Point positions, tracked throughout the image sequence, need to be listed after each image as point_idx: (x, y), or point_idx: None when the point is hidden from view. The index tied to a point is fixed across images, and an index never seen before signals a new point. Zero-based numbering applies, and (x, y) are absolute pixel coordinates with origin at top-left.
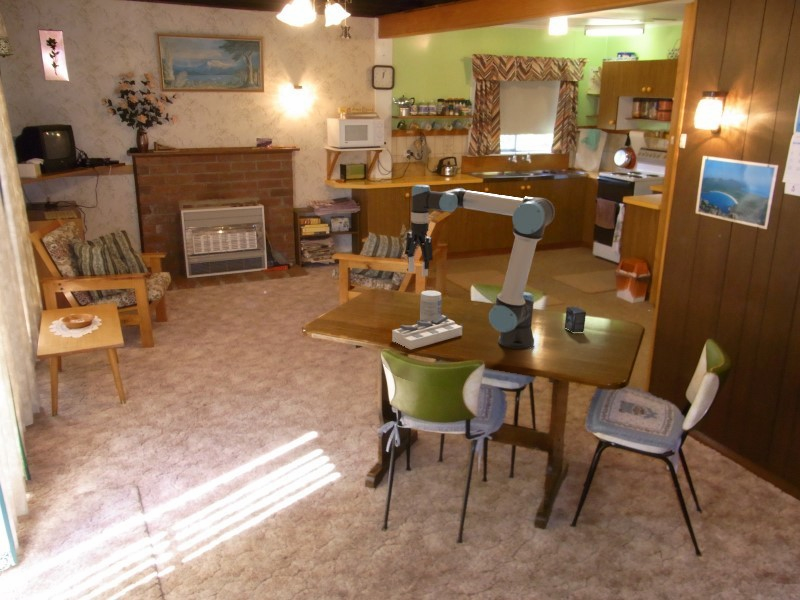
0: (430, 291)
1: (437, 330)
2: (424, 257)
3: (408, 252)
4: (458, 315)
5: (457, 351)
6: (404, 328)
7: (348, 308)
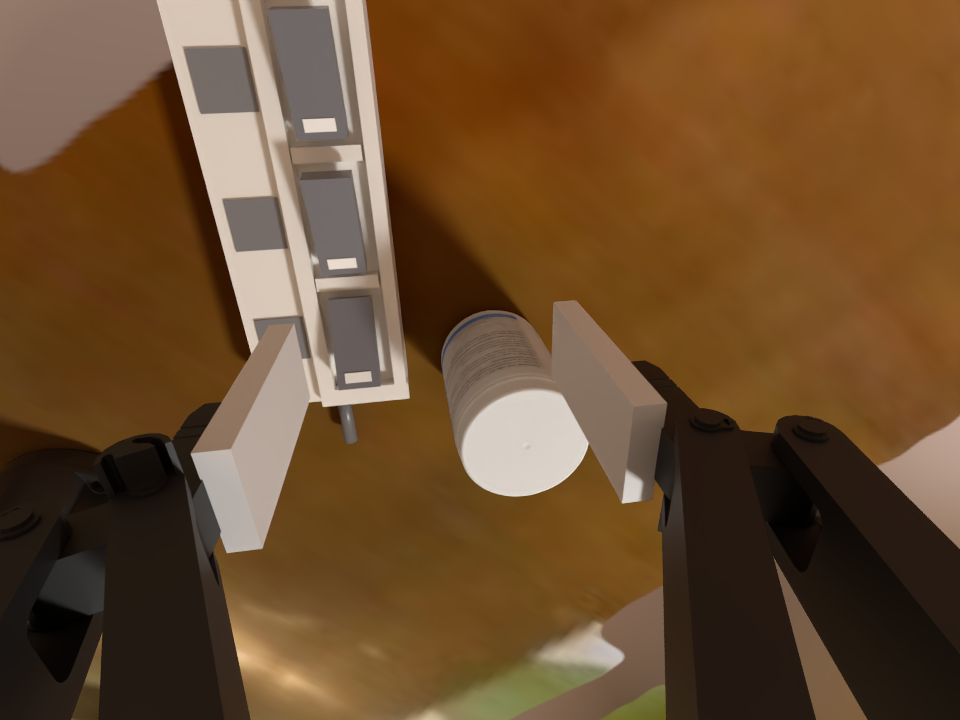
0: (555, 459)
1: (265, 259)
2: (129, 535)
3: (738, 464)
4: (501, 505)
5: (54, 222)
6: (276, 8)
7: (936, 126)
